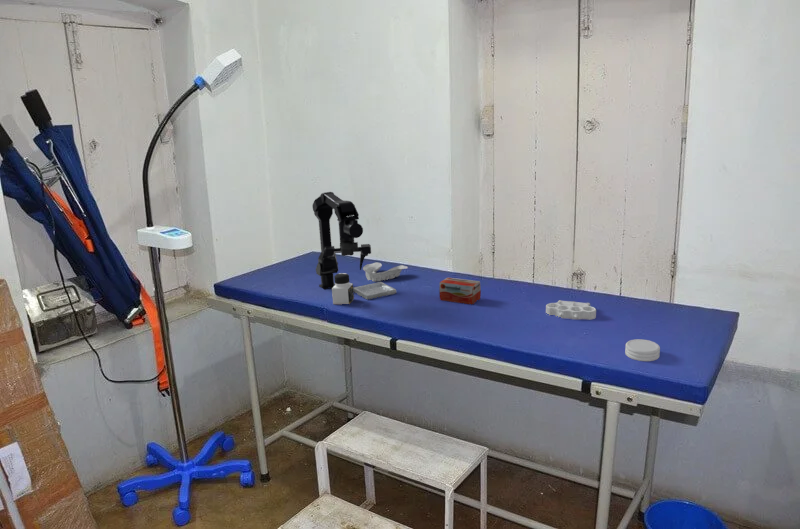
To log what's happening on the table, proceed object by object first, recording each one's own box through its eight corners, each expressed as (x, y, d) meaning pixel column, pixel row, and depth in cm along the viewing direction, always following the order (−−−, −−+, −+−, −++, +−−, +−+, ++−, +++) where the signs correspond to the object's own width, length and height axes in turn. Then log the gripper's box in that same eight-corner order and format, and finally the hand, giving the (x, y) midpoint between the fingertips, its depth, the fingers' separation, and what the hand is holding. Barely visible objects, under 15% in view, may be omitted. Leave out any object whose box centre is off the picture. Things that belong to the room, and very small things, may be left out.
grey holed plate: (598, 310, 224) (593, 323, 211) (550, 305, 231) (542, 318, 218) (599, 301, 223) (593, 314, 210) (550, 297, 230) (542, 309, 217)
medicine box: (481, 299, 242) (480, 280, 240) (473, 305, 235) (473, 286, 233) (447, 294, 249) (446, 276, 247) (439, 300, 242) (438, 282, 240)
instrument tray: (353, 291, 259) (352, 287, 258) (381, 285, 265) (381, 281, 265) (367, 299, 247) (366, 295, 247) (396, 293, 254) (396, 289, 253)
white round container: (652, 365, 177) (653, 354, 176) (619, 356, 183) (620, 346, 182) (664, 353, 184) (664, 343, 183) (632, 346, 191) (632, 336, 190)
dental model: (350, 279, 278) (349, 269, 277) (372, 269, 292) (372, 260, 290) (389, 285, 265) (389, 275, 264) (411, 275, 279) (410, 265, 277)
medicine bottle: (349, 304, 242) (347, 276, 239) (332, 304, 244) (330, 276, 240) (354, 299, 249) (352, 271, 246) (337, 298, 250) (335, 271, 247)
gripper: (322, 239, 228) (325, 277, 233) (370, 236, 230) (372, 274, 234) (323, 232, 239) (326, 269, 243) (369, 230, 240) (371, 267, 245)
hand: (349, 270), depth 241 cm, fingers open, 9 cm apart
